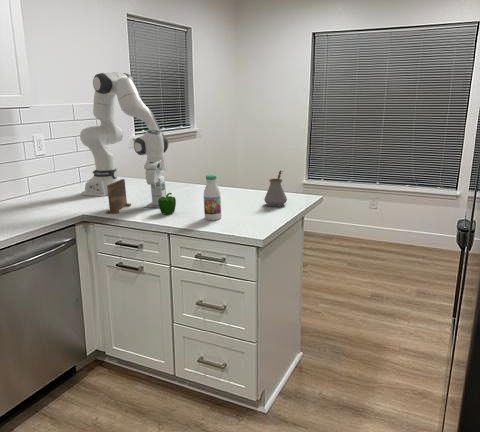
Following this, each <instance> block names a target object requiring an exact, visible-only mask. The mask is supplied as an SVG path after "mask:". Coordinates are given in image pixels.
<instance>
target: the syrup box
mask: <svg viewBox="0 0 480 432" xmlns="http://www.w3.org/2000/svg"><path fill="white" fill-rule="evenodd" d="M165 179H166V178H164V176H161V177H160V178H159V182H157V183H156V188H157V191H156V192H153V189H152V186H151V185H150V191H151V202H152V204H153V205H159V204H158V200H159V198H161V197H166V195H167V191H166V180H165Z"/></svg>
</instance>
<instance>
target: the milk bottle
mask: <svg viewBox="0 0 480 432" xmlns="http://www.w3.org/2000/svg"><path fill="white" fill-rule="evenodd" d="M205 179H206V185H205V188H204V189H203V190H204V191H203V211H204V219H205V220H208V221H217V220H220V219H221V218H222V202H221V199H222V198H221V190H220V188H219V186H218V184H217V175H216V174H206V176H205Z"/></svg>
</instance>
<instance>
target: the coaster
mask: <svg viewBox="0 0 480 432" xmlns="http://www.w3.org/2000/svg"><path fill="white" fill-rule="evenodd" d="M144 209H160V208H159V205H153V204H152V201H151V202H150V203H148V204H146V205H145V206H144Z"/></svg>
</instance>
